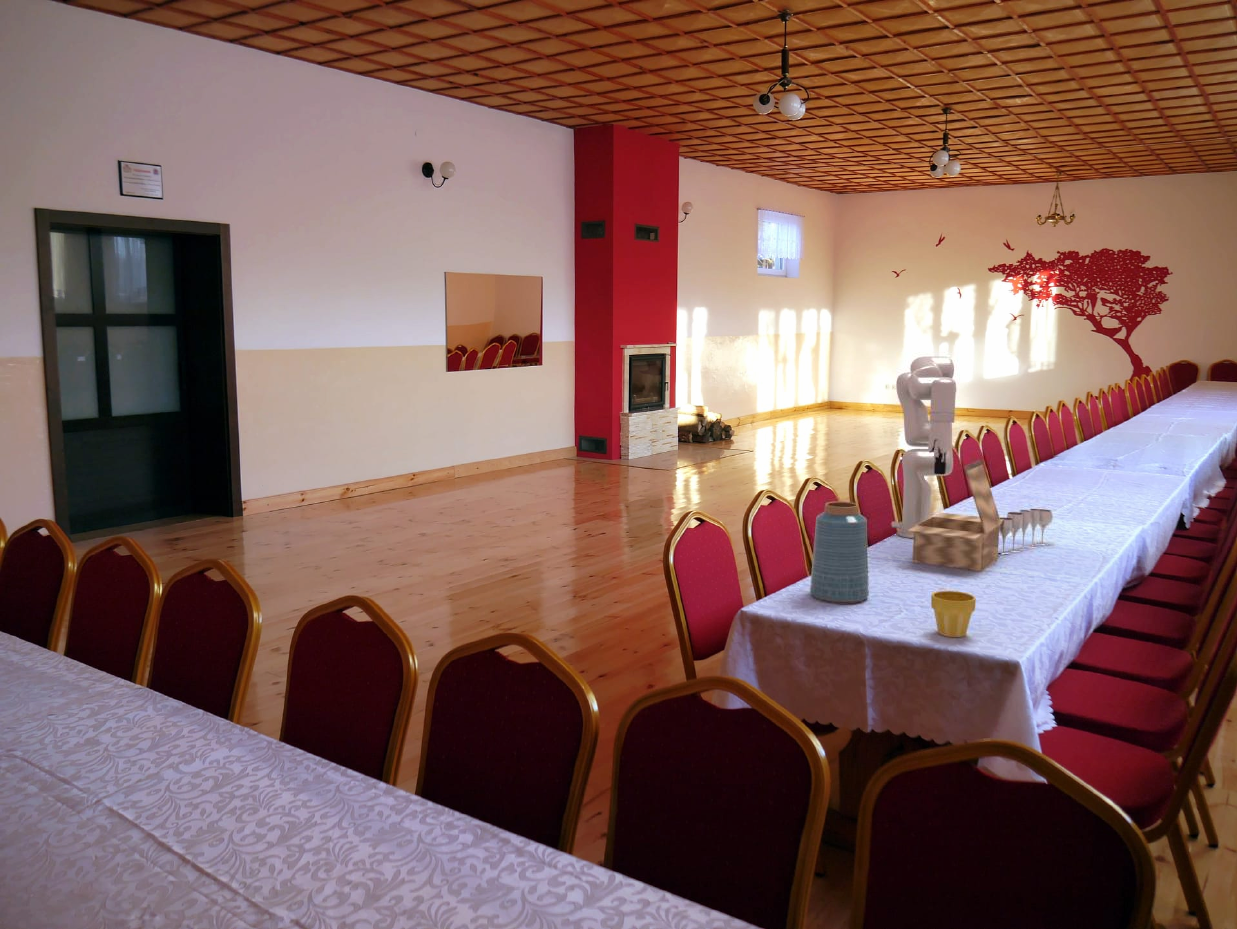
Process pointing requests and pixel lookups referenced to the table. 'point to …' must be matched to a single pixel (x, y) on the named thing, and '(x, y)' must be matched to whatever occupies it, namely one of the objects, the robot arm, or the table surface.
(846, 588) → the vase
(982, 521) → the lid flap
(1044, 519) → the goblet set
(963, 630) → the plant pot
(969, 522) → the carton
